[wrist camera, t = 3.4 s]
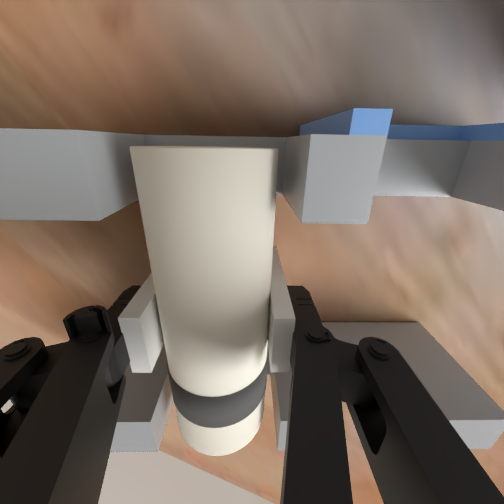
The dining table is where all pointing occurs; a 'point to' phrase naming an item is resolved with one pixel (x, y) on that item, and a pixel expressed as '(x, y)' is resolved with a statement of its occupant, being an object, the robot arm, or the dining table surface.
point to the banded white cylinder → (211, 281)
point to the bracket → (307, 210)
